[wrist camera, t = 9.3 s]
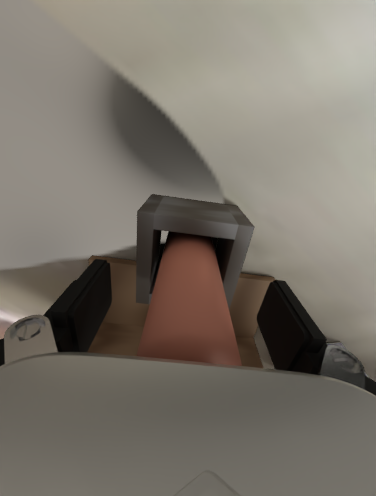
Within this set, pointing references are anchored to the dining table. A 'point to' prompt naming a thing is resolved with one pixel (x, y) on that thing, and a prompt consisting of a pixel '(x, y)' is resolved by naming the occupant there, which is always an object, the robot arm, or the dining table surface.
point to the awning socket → (147, 265)
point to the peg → (189, 306)
